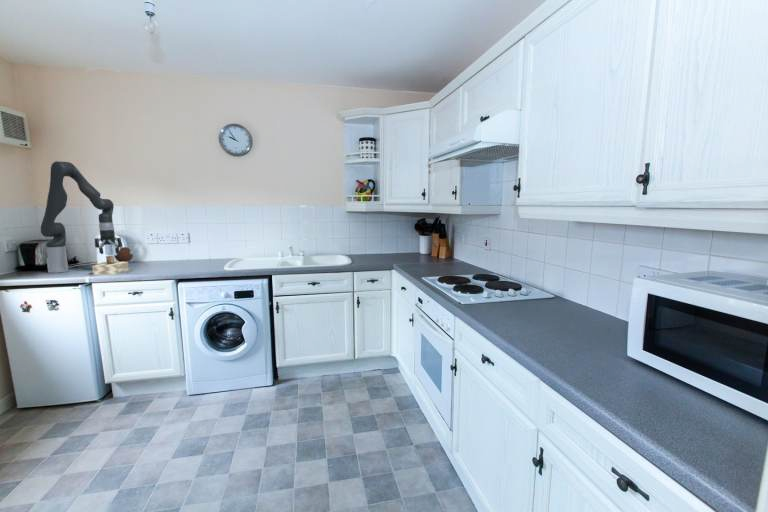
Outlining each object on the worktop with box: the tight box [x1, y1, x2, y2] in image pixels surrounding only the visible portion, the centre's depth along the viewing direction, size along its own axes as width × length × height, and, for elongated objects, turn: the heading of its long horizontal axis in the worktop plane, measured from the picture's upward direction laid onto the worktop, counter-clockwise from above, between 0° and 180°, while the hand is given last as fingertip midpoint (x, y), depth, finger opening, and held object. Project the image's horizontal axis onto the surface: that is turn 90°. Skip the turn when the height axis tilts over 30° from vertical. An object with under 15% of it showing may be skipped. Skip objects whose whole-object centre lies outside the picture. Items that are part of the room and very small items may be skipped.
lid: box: [91, 255, 130, 276], centre depth 233 cm, size 15×15×11 cm
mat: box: [85, 268, 137, 276], centre depth 233 cm, size 24×15×1 cm, turn 107°
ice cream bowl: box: [113, 246, 134, 268], centre depth 250 cm, size 11×11×15 cm
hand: (109, 253), depth 231 cm, fingers open, 8 cm apart
